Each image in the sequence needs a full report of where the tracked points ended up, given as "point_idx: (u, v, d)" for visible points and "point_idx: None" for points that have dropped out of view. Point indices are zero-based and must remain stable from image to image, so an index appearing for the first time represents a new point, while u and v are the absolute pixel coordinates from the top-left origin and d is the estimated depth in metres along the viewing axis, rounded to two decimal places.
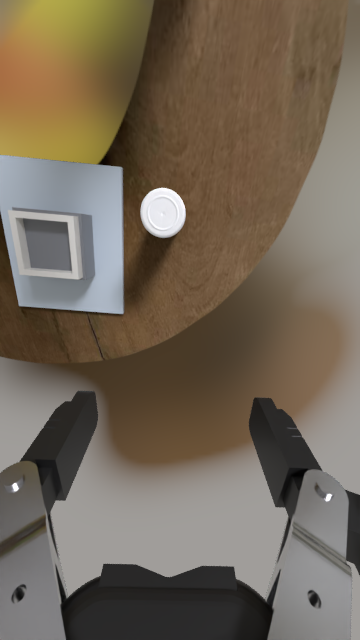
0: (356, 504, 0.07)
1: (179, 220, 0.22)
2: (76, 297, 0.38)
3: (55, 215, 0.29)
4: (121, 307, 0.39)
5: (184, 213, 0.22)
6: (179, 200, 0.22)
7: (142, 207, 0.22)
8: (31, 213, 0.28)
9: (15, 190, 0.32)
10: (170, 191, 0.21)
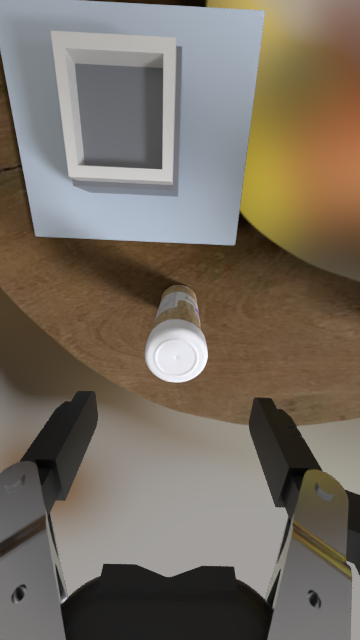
0: (356, 504, 0.07)
1: (168, 378, 0.16)
2: (43, 150, 0.22)
3: (171, 147, 0.17)
4: (46, 234, 0.25)
5: None
6: (192, 376, 0.16)
7: (182, 332, 0.15)
8: (172, 95, 0.16)
9: (210, 55, 0.19)
10: (203, 366, 0.16)
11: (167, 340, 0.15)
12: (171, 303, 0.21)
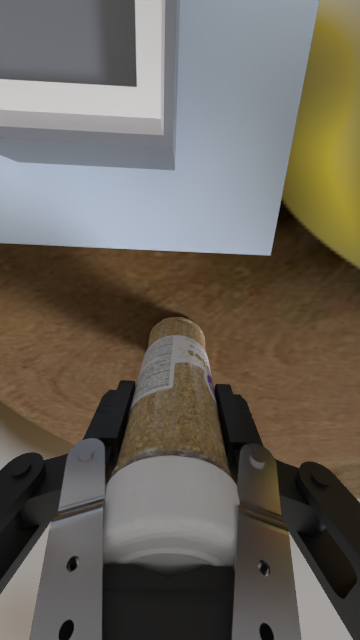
0: (286, 473, 0.08)
1: None
2: None
3: (156, 26, 0.07)
4: None
5: None
6: None
7: (188, 535, 0.05)
8: None
9: None
10: None
11: (143, 554, 0.05)
12: (161, 372, 0.11)
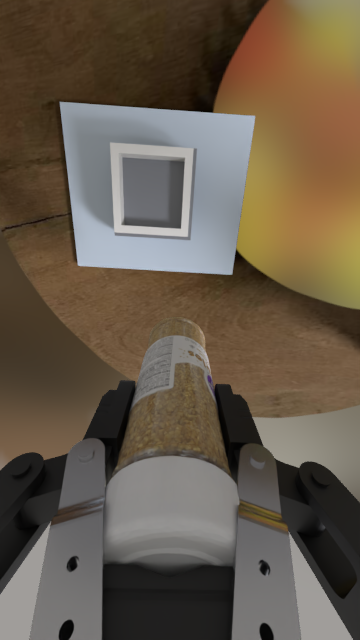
0: (286, 473, 0.08)
1: None
2: (89, 204, 0.29)
3: (187, 214, 0.24)
4: (86, 264, 0.32)
5: None
6: None
7: (189, 535, 0.05)
8: (189, 182, 0.23)
9: (216, 143, 0.26)
10: None
11: (144, 554, 0.05)
12: (161, 373, 0.11)
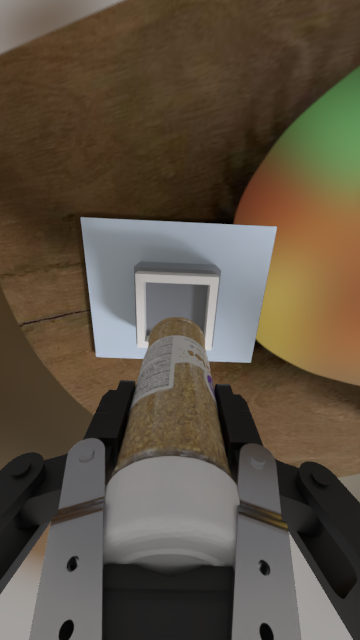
0: (286, 473, 0.08)
1: None
2: (108, 304, 0.29)
3: (211, 332, 0.24)
4: (104, 355, 0.32)
5: None
6: None
7: (189, 535, 0.05)
8: (214, 306, 0.23)
9: (237, 250, 0.26)
10: None
11: (144, 554, 0.05)
12: (161, 373, 0.11)
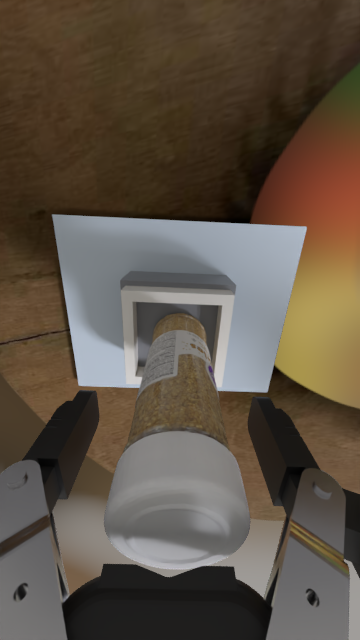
0: (353, 503, 0.07)
1: (160, 565, 0.07)
2: (91, 324, 0.23)
3: (223, 365, 0.18)
4: (89, 384, 0.26)
5: None
6: None
7: (193, 492, 0.06)
8: (227, 332, 0.17)
9: (254, 257, 0.20)
10: (239, 546, 0.07)
11: (155, 509, 0.06)
12: (166, 363, 0.12)
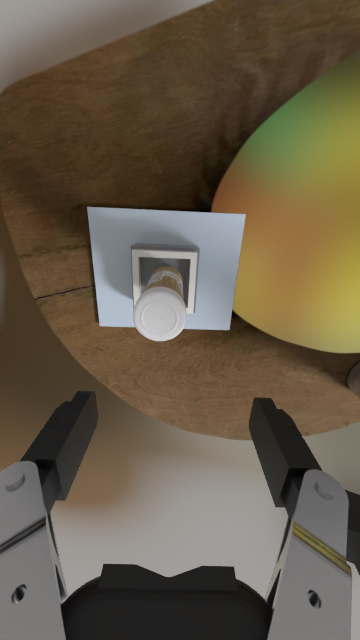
0: (356, 504, 0.07)
1: (153, 336, 0.19)
2: (109, 280, 0.35)
3: (193, 298, 0.30)
4: (106, 324, 0.38)
5: (161, 340, 0.20)
6: (174, 335, 0.19)
7: (164, 295, 0.18)
8: (194, 276, 0.29)
9: (214, 234, 0.32)
10: (182, 325, 0.19)
11: (151, 302, 0.18)
12: (157, 278, 0.23)
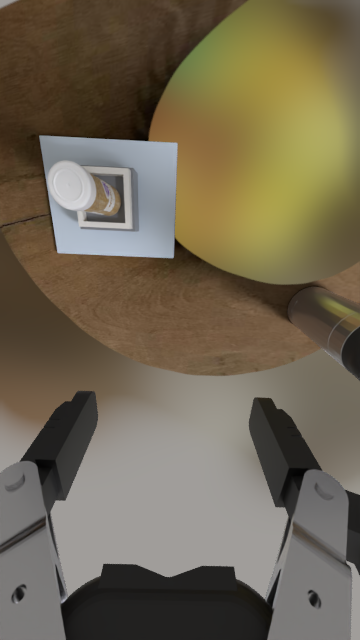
0: (356, 504, 0.07)
1: (66, 203, 0.24)
2: (63, 207, 0.40)
3: (129, 213, 0.35)
4: (63, 251, 0.42)
5: (73, 208, 0.24)
6: (82, 202, 0.24)
7: (69, 162, 0.22)
8: (128, 191, 0.34)
9: (151, 162, 0.37)
10: (88, 193, 0.23)
11: (59, 169, 0.23)
12: None
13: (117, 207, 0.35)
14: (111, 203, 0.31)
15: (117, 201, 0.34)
